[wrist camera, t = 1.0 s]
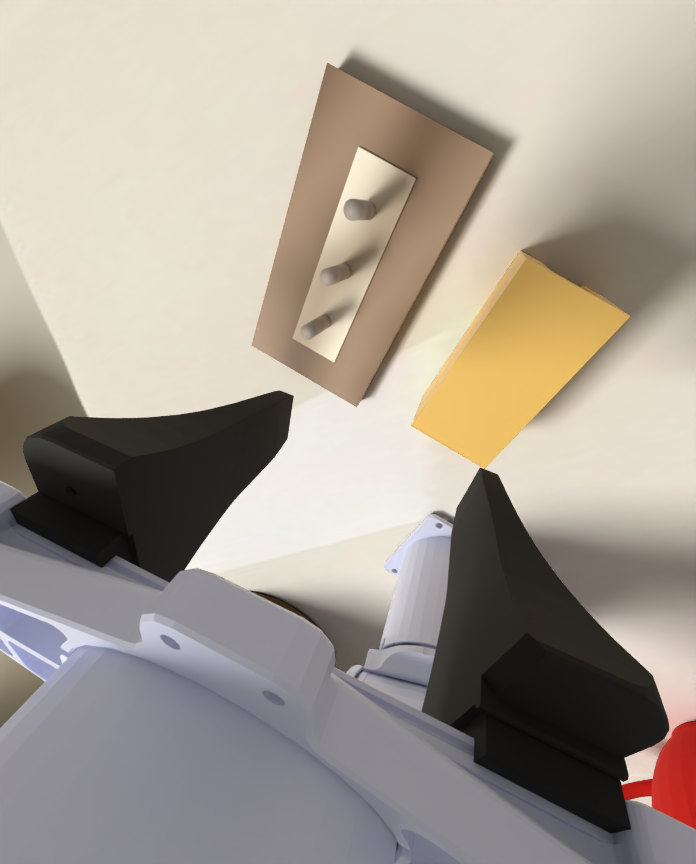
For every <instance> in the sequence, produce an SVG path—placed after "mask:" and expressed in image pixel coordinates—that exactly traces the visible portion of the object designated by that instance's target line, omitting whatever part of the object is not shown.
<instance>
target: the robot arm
mask: <svg viewBox="0 0 696 864" xmlns="http://www.w3.org/2000/svg"><path fill="white" fill-rule="evenodd" d="M293 397H294V396H292V395H290V394H287V393H285V392H282V391H275V392H271V393H267V394H264V395H261V396H257V397H254V398H251V399H247V400H244V401H240V402H237V403H233V404H229V405H225V406H221V407H217V408H213V409H209V410H204V411H199V412H193V413H187V414H180V415H171V416H160V417H149V418H92V417H73V416H69V417H67V418H65V419H63V420H61V421H59V422H57V423H55V424H52V425H50V426H48V427H46V428H44V429H42V430H40V431H38V432H36V433H34V434H32V435H30V436H28V437H27V438H26V440H25V441H24V445H23V453H24V456H25V459H26V462H27V465H28V467H29V470H30V472H31V474H32V476H33V479H34V481H35V484H36V486H37V489H38V491H39V492H37V493H35V494H34V495H32V496H31V497H29V498H27V497H26V496H25V495H24V494H23V493H22V492H20V491H19V490H17V489H16V488H14V487H12V486H10V485H8V484H6V483H4V482H2V481H0V650H1V651H2V652H4V653H5V654H6V655H8V656H9V657H11V658H12V659H14V660H15V661H16V662H18V663H19V664H21V665H23V666H24V667H25V668H27V669H28V670H29V671H31V672H32V673H34V674H35V675H37V676H38V677H39V678H41V679H42V680H44V681H45V682H44V684H43V685H42V686H41V687H40V688H39V689H38V690H37V691H36V692H35V693H34V694H33V695H32V696H31V697H30V698H29V699H28V700H27V701H26V702H25V703H24V704H23V705H22V706H21V707H20V708H19V710H18V711H17V712H16V713H15V714H14V715H13V716H12V717H11V718H10V719H9V720H8V721H7V722H6V723H5V724H4V725H3V726H2V727H1V728H0V864H696V829H694V828H692V827H690V826H688V825H686V824H684V823H682V822H680V821H678V820H676V819H674V818H672V817H670V816H668V815H666V814H664V813H662V812H660V811H658V810H656V809H654V808H652V807H650V806H648V805H645V804H643V803H640V802H636V801H631V800H625V799H624V794H623V790H622V786H621V781H623V782H624V781H626V780H628V776H629V775H628V771H627V767H626V763H625V759H624V758H625V757H627V756H629V755H632V754H634V753H637V752H639V751H642V750H644V749H647V748H649V747H652V746H654V745H655V744H657V743H658V742H660V741H662V740H663V739H664V738H665V736H666V735H667V733H668V731H669V723H668V718H667V715H666V712H665V709H664V706H663V703H662V701H661V698H660V695H659V692H658V689H657V686H656V683H655V681H654V678H653V676H652V674H651V673H649V672H648V671H647V670H646V669H645V668H644V667H643V666H642V665H641V664H640V663H639V662H638V661H637V660H636V659H634V658H633V657H632V656H631V655H630V654H629V653H628V652H627V651H626V650H625V649H624V648H623V647H622V646H620V645H619V644H618V643H617V642H616V641H615V640H614V639H613V638H612V637H611V636H610V635H609V634H608V633H607V632H606V631H605V630H604V629H603V628H602V627H601V626H600V625H599V624H598V622H597V621H596V620H595V619H594V618H593V617H592V616H591V615H590V614H589V613H588V612H587V611H586V610H585V609H584V607H583V606H582V605H581V604H580V603H579V602H578V601H577V600H576V598H575V597H574V596H573V595H572V594H571V592H570V591H569V590H568V589H567V588H566V586H565V585H564V584H563V583H562V582H561V580H560V579H559V578H558V576H557V575H556V574H555V573H554V571H553V570H552V568H551V567H550V566H549V564H548V563H547V562H546V560H545V559H544V557H543V556H542V555H541V553H540V552H539V550H538V549H537V547H536V545H535V544H534V542H533V541H532V539H531V537H530V536H529V534H528V532H527V531H526V529H525V527H524V525H523V524H522V522H521V520H520V518H519V516H518V515H517V513H516V511H515V509H514V507H513V505H512V503H511V501H510V499H509V497H508V495H507V493H506V491H505V488H504V486H503V484H502V482H501V480H500V478H499V476H498V474H495V473H493V472H490V471H487V470H485V469H482V468H480V469H479V471H478V472H477V474H476V476H475V477H474V479H473V481H472V483H471V484H470V486H469V488H468V490H467V491H466V493H465V495H464V497H463V498H462V500H461V502H460V503H459V505H458V507H457V510H456V514H455V519H454V523H453V524H451V523H450V522H448V521H446V520H445V519H443V518H441V517H440V516H438V515H436V514H430V515H428V516H427V517H426V518H425V519H424V521H423V522H422V523H421V524H420V525H419V526H418V527H417V528H416V529H415V530H414V531H413V532H412V534H411V535H410V536H409V537H408V538H407V539H406V540H405V541H404V542H403V543H402V544H401V545H400V547H399V548H398V549H397V550H396V551H395V552H394V553H393V554H392V555H391V556H390V557H389V558H388V560H387V561H386V562H385V564H384V568H385V569H386V570H387V571H389V572H391V573H392V574H394V575H396V576H397V577H398V579H397V582H396V586H395V590H394V594H393V597H392V601H391V605H390V609H389V613H388V616H387V620H386V624H385V628H384V631H383V635H382V639H381V643H380V646H379V650H376V649H369V651H368V654H367V658H366V661H365V665H364V666H362V665H354V666H352V667H351V668H350V669H349V670H348V671H347V673H345V672H343V671H341V670H339V669H337V668H335V667H334V665H335V662H336V661H335V650H334V647H333V645H332V643H331V642H330V640H329V639H328V638H327V637H326V635H325V634H324V633H323V632H322V630H321V629H319V628H318V627H316V626H315V625H313V624H312V623H310V622H309V621H307V620H306V619H304V618H303V617H301V616H299V615H297V614H295V613H293V612H291V611H289V610H287V609H285V608H283V607H281V606H279V605H277V604H275V603H273V602H271V601H269V600H267V599H265V598H263V597H261V596H259V595H256V594H254V593H252V592H250V591H248V590H246V589H244V588H242V587H240V586H238V585H236V584H234V583H232V582H230V581H228V580H226V579H224V578H222V577H220V576H218V575H216V574H214V573H210V572H207V571H204V570H201V569H198V568H197V569H189V570H185V568H186V566H187V565H188V564H189V562H190V561H191V559H192V558H193V556H194V555H195V553H196V552H197V550H198V549H199V547H200V546H201V544H202V543H203V541H204V540H205V539H206V537H207V536H208V535H209V533H210V532H211V530H212V529H213V528H214V526H215V525H216V523H217V522H218V521H219V519H220V518H221V517H222V515H223V514H224V513H225V511H226V510H227V509H228V507H229V506H230V505H231V504H232V502H233V501H234V500H235V499H236V498H237V497H238V495H239V494H240V493H241V492H242V491H243V490H244V489H245V488H246V487H247V486H248V485H249V484H250V483H251V482H252V481H253V480H254V479H255V477H256V476H257V475H258V474H259V473H260V472H261V471H262V470H263V469H264V468H265V467H266V466H267V465H268V464H269V463H270V462H271V460H272V459H273V458H274V457H275V456H276V454H277V453H278V451H279V450H280V449H281V447H282V446H283V444H284V443H285V441H286V440H287V438H288V431H289V424H290V417H291V410H292V403H293ZM437 523H440V524H442V525H439V524H437ZM620 780H621V781H620Z"/></svg>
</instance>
